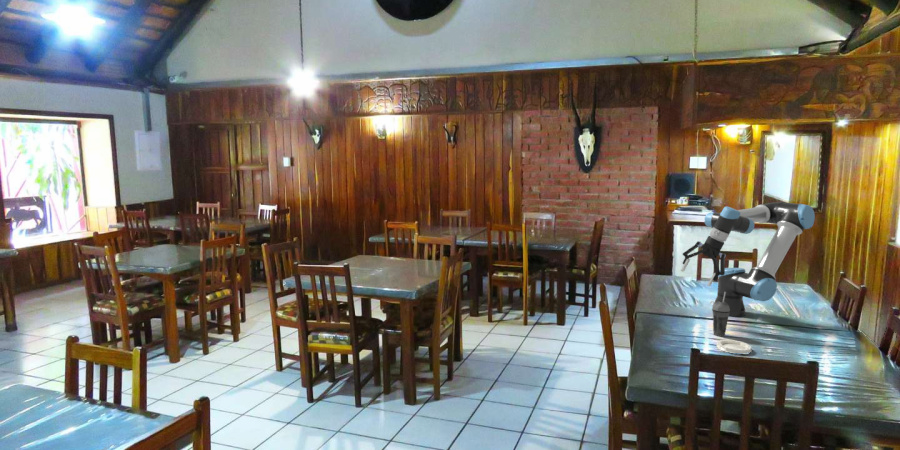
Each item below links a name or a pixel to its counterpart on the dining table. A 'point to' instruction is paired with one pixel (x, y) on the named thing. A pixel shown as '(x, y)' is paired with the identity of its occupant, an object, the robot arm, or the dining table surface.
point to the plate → (733, 346)
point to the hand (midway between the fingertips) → (695, 278)
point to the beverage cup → (720, 317)
